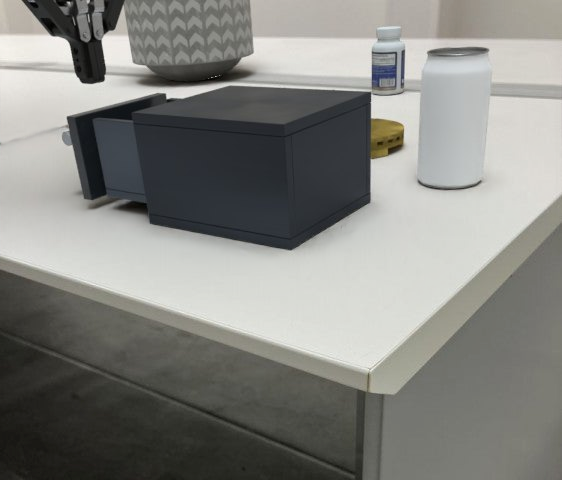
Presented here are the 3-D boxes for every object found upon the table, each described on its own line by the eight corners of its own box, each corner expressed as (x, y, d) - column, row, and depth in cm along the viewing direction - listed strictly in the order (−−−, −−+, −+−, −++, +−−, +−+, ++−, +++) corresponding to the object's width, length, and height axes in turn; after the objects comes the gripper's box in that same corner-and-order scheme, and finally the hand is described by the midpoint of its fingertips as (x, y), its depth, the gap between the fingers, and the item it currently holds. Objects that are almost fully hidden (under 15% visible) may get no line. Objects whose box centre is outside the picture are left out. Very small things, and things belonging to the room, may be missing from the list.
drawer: (51, 193, 70) (32, 113, 66) (137, 163, 79) (125, 90, 75) (194, 219, 61) (182, 126, 56) (275, 181, 69) (269, 98, 65)
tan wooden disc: (381, 163, 76) (381, 143, 75) (287, 156, 82) (286, 137, 80) (417, 138, 85) (418, 120, 84) (330, 133, 90) (330, 116, 89)
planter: (179, 68, 157) (163, -54, 145) (275, 68, 147) (267, -63, 135) (111, 87, 139) (86, -51, 126) (216, 88, 129) (201, -62, 116)
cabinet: (149, 223, 63) (130, 112, 58) (239, 183, 73) (229, 85, 68) (290, 250, 55) (283, 124, 50) (370, 201, 65) (371, 91, 60)
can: (496, 181, 68) (510, 48, 62) (446, 194, 65) (455, 57, 59) (451, 168, 73) (460, 44, 66) (403, 180, 70) (407, 52, 64)
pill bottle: (388, 88, 117) (389, 25, 112) (410, 91, 113) (412, 26, 108) (364, 93, 114) (364, 28, 109) (387, 96, 111) (388, 29, 106)
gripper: (83, -123, 66) (114, 71, 75) (-39, -131, 57) (14, 91, 66) (139, -132, 62) (165, 74, 71) (18, -142, 53) (65, 96, 62)
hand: (92, 82), depth 68 cm, fingers closed
